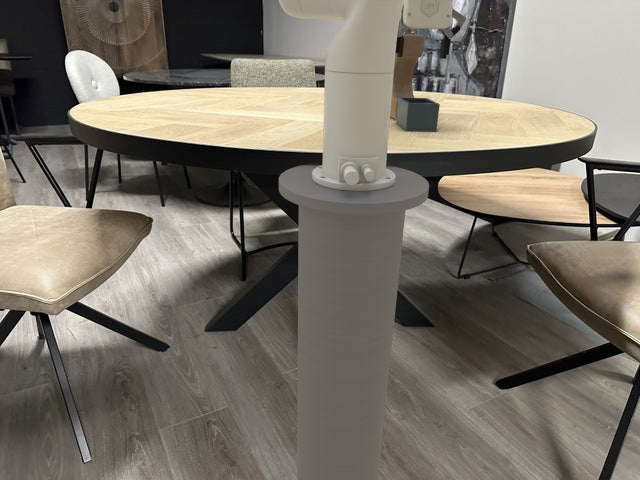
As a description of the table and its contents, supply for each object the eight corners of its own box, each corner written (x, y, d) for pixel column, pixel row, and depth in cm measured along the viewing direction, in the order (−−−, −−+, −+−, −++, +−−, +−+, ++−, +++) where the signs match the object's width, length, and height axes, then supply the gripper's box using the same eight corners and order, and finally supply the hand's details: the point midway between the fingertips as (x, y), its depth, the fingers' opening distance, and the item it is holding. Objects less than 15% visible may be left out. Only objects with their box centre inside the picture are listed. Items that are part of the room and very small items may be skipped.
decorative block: (416, 120, 119) (425, 34, 111) (394, 120, 118) (402, 33, 111) (402, 114, 129) (410, 34, 122) (382, 113, 129) (389, 34, 121)
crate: (436, 131, 105) (439, 103, 103) (405, 130, 105) (408, 103, 103) (424, 123, 116) (427, 98, 113) (396, 122, 115) (398, 97, 113)
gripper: (392, -36, 93) (385, 56, 100) (478, -32, 94) (465, 59, 100) (386, -30, 100) (379, 56, 107) (465, -27, 101) (454, 59, 107)
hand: (421, 57), depth 103 cm, fingers open, 9 cm apart
